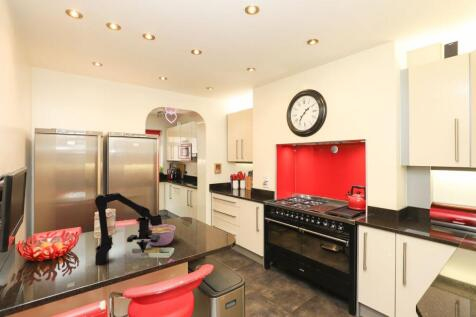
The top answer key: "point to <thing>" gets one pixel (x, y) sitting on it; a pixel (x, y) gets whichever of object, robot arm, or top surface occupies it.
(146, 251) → the oak chip
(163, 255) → the tray
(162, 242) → the bowl of food
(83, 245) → the top surface
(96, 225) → the coffeecake box
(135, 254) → the slot board
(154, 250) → the yellow block
